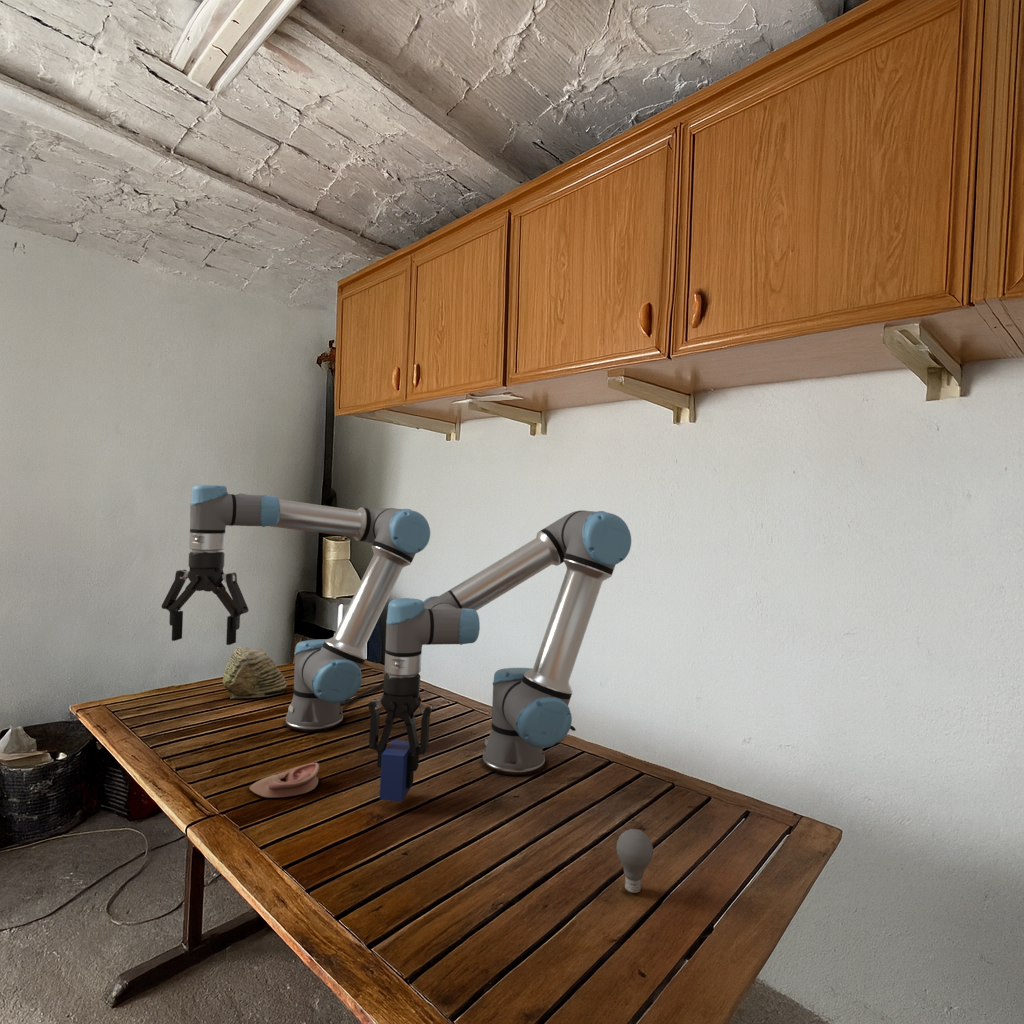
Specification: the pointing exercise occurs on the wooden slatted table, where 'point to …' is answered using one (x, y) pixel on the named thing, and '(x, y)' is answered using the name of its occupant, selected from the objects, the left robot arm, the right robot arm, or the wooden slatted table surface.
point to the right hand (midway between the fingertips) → (396, 783)
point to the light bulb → (634, 857)
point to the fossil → (252, 674)
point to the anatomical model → (288, 782)
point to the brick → (394, 771)
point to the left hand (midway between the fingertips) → (203, 641)
